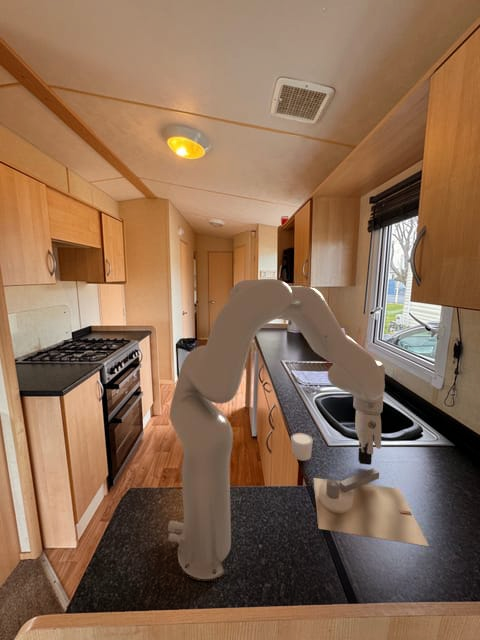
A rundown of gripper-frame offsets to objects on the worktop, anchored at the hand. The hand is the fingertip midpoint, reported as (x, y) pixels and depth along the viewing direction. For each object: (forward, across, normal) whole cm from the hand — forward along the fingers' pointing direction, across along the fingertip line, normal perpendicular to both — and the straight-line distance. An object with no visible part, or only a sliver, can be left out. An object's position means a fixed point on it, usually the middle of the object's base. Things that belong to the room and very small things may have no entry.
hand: (364, 462), depth 79 cm
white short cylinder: (+3, +3, +18) cm, 19 cm away
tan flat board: (+3, -15, +4) cm, 16 cm away
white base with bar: (+1, -12, +6) cm, 13 cm away
